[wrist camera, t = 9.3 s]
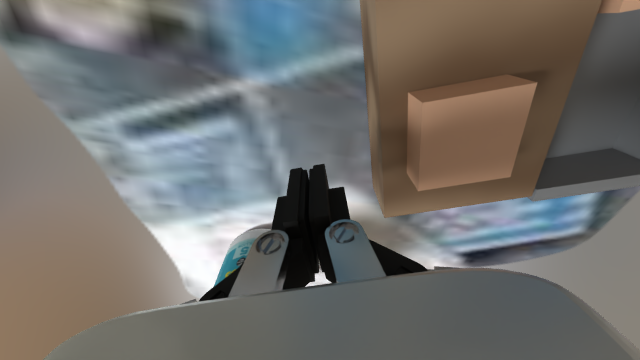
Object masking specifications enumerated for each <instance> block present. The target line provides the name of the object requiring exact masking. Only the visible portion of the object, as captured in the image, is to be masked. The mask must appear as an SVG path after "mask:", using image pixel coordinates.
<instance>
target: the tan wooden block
mask: <svg viewBox="0 0 640 360" xmlns="http://www.w3.org/2000/svg"><path fill="white" fill-rule="evenodd" d="M601 2H602V0H360V7H361V22H362V36H363V50H364V65H365V79H366V93H367V107H368V122H369V136H370V150H371V165H372V179H373V188H374V190H375V193H376V196H377V198H378V201H379V204H380V207H381V209H382V212H383V215H384V217H385V218H387V217H394V216H401V215H407V214H414V213H421V212H428V211H435V210H441V209H448V208H455V207H462V206H469V205H475V204H482V203H489V202H496V201H503V200H509V199H516V198H523V197H530V196H532V194H533V191H534V189H535V186H536V183H537V180H538V177H539V175H540V172H541V169H542V166H543V163H544V161H545V158H546V155H547V152H548V149H549V147H550V144H551V141H552V138H553V136H554V133H555V130H556V127H557V124H558V122H559V119H560V116H561V113H562V110H563V108H564V105H565V102H566V99H567V97H568V94H569V91H570V88H571V85H572V83H573V80H574V77H575V74H576V71H577V69H578V66H579V63H580V60H581V58H582V55H583V52H584V49H585V46H586V44H587V41H588V38H589V35H590V32H591V30H592V27H593V24H594V21H595V18H596V16H597V13H598V10H599V7H600V5H601ZM507 74H508V75H512V76H515V77H519V78H523V79H526V80H530V81H534V82H537V86H536V89H535V93H534V96H533V100H532V103H531V107H530V110H529V114H528V117H527V121H526V124H525V128H524V131H523V135H522V138H521V142H520V145H519V149H518V152H517V156H516V159H515V163H514V166H513V170H512V173H511V177H508V178H501V179H494V180H488V181H481V182H475V183H468V184H462V185H455V186H449V187H442V188H436V189H429V190H423V191H418V190H417V189H416V187H415V185H414V184H413V182H412V181H411V179H410V177H409V176H408V174H407V131H408V92H413V91H418V90H424V89H429V88H435V87H440V86H446V85H452V84H457V83H463V82H468V81H474V80H479V79H485V78H490V77H496V76H501V75H507Z"/></svg>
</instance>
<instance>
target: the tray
mask: <svg viewBox="0 0 640 360" xmlns="http://www.w3.org/2000/svg"><path fill="white" fill-rule="evenodd" d="M636 186H640V9H637V10H631V11H626V12H620V13H597V16H596V18H595V21H594V24H593V27H592V30H591V32H590V35H589V38H588V41H587V44H586V46H585V49H584V52H583V55H582V58H581V60H580V63H579V66H578V69H577V71H576V74H575V77H574V80H573V83H572V85H571V88H570V91H569V94H568V97H567V99H566V102H565V105H564V108H563V110H562V113H561V116H560V119H559V122H558V124H557V127H556V130H555V133H554V136H553V138H552V141H551V144H550V147H549V149H548V152H547V155H546V158H545V161H544V163H543V166H542V169H541V172H540V175H539V177H538V180H537V183H536V186H535V189H534V191H533V194H532V196H530V197H528V198H529V199H530V200H532V201H539V200H546V199H553V198H560V197H567V196H574V195H581V194H587V193H594V192H601V191H608V190H615V189H622V188H629V187H636Z"/></svg>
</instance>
